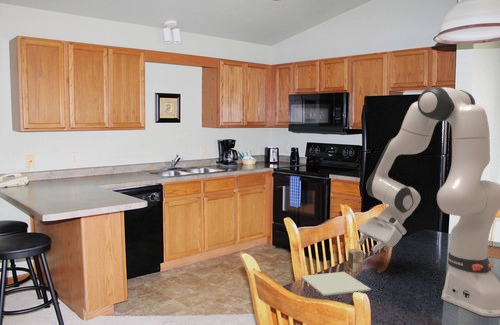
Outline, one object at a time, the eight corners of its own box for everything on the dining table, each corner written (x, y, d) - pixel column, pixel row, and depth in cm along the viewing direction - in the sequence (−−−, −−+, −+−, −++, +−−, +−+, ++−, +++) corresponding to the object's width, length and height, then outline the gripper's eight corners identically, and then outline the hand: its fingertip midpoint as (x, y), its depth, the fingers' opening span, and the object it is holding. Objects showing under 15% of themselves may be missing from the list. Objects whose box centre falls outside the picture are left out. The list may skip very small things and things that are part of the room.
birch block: (356, 268, 173) (357, 248, 172) (362, 271, 169) (363, 251, 169) (347, 269, 172) (347, 249, 171) (352, 272, 168) (353, 252, 167)
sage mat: (370, 290, 150) (370, 288, 150) (323, 296, 144) (323, 294, 144) (343, 273, 167) (344, 271, 167) (300, 277, 161) (300, 276, 161)
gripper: (369, 211, 183) (347, 235, 181) (400, 222, 163) (376, 249, 161) (378, 221, 184) (356, 245, 182) (409, 233, 165) (386, 260, 163)
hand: (366, 247), depth 172 cm, fingers open, 8 cm apart
